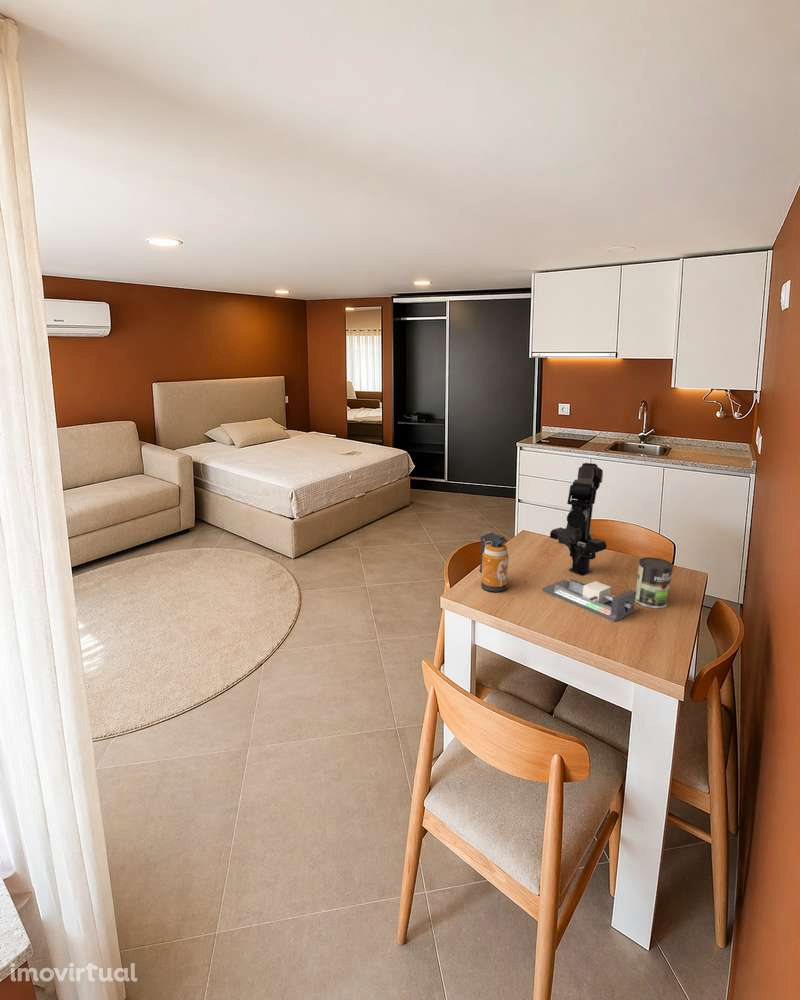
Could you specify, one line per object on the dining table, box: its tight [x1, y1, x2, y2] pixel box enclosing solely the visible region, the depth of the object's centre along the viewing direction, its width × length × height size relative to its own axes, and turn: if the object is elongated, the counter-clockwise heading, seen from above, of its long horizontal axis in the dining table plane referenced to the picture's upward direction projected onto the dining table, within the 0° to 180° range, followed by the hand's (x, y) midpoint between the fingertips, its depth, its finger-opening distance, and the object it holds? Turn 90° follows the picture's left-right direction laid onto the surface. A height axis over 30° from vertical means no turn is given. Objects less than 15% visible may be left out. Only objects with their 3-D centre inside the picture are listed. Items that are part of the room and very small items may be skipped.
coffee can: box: [635, 556, 674, 609], centre depth 182 cm, size 10×10×14 cm
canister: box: [478, 531, 510, 593], centre depth 192 cm, size 9×11×20 cm
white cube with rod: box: [583, 580, 631, 608], centre depth 176 cm, size 9×15×5 cm, turn 37°
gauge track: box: [542, 578, 637, 622], centre depth 183 cm, size 12×28×7 cm, turn 37°
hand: (575, 563), depth 186 cm, fingers closed
